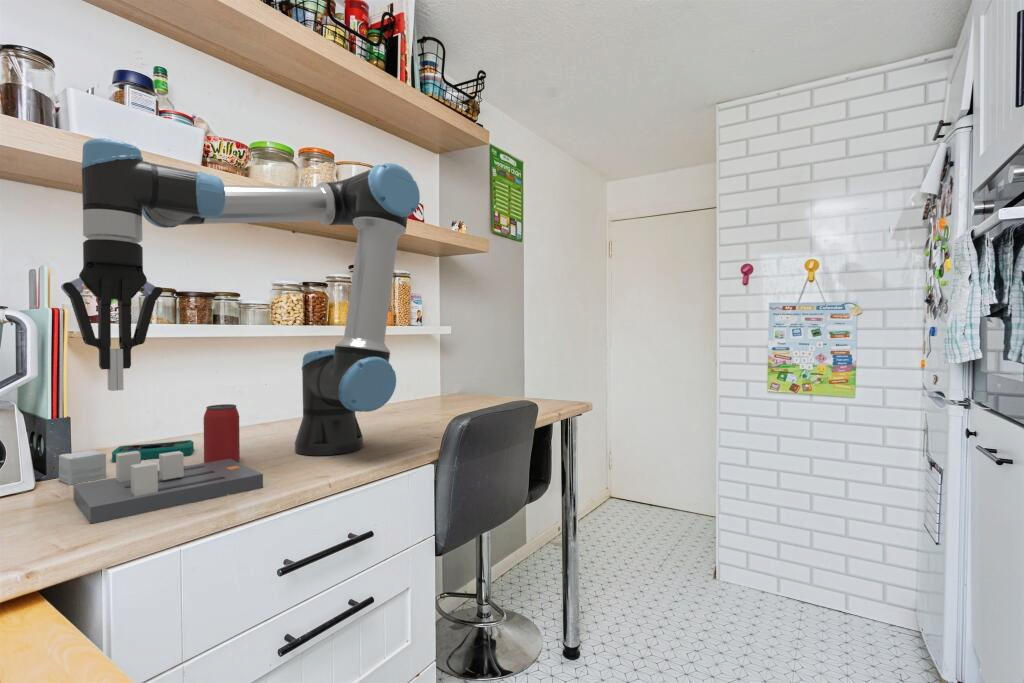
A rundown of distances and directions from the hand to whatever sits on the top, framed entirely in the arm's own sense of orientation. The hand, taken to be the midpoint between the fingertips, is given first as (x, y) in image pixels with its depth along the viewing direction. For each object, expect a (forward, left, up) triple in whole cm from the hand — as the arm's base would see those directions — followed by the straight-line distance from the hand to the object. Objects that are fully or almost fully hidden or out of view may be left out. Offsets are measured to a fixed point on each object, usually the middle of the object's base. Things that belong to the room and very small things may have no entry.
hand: (115, 389), depth 83 cm
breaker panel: (-8, 0, -18) cm, 20 cm away
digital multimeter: (-13, -34, -19) cm, 41 cm away
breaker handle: (-8, 0, -16) cm, 17 cm away
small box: (+1, -22, -19) cm, 29 cm away
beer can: (-21, -16, -19) cm, 32 cm away
